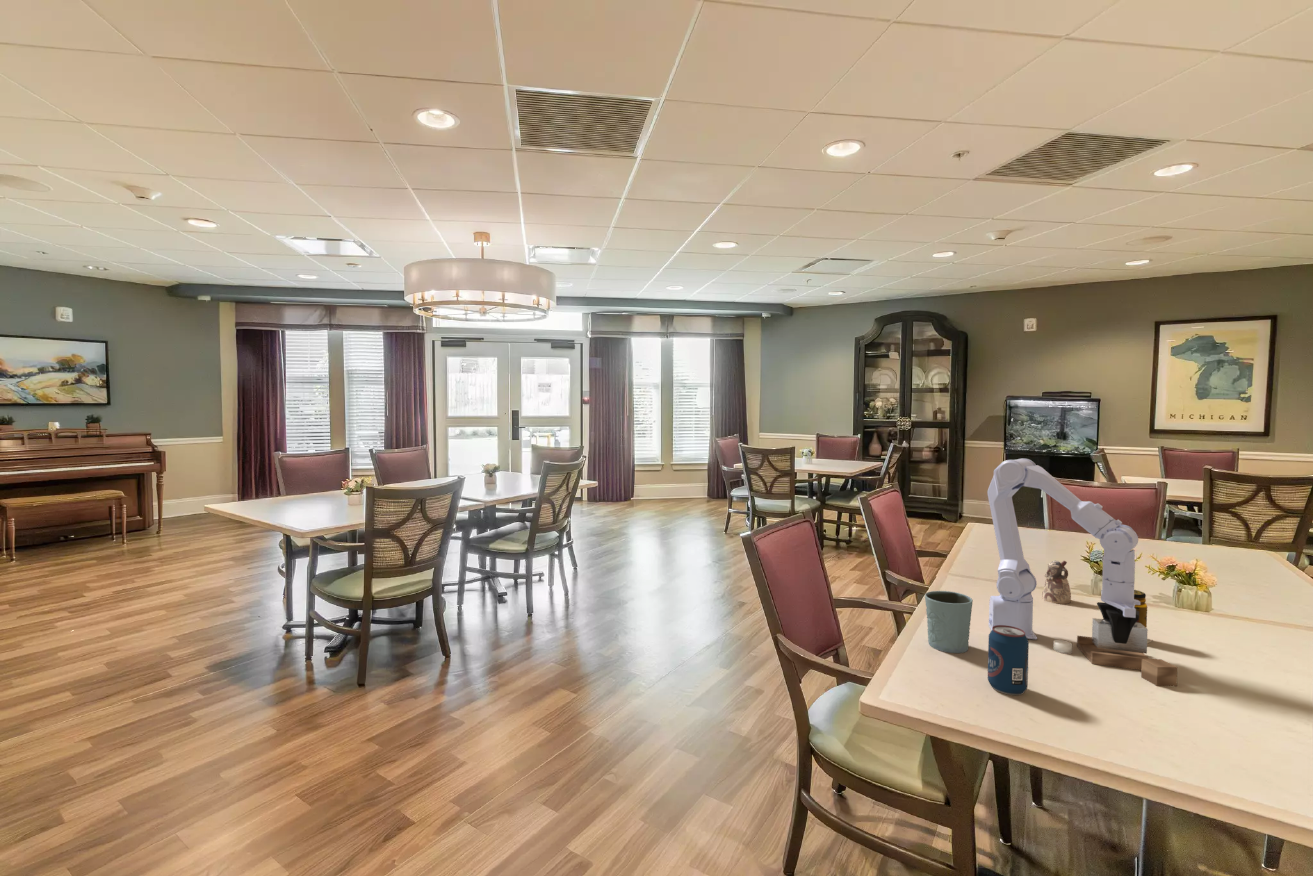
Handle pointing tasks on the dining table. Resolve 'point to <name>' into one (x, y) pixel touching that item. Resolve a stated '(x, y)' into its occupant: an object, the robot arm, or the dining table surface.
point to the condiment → (1141, 609)
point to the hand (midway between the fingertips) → (1116, 639)
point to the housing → (1105, 640)
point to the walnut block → (1159, 672)
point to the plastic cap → (1062, 646)
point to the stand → (1110, 655)
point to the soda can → (1008, 660)
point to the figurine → (1056, 584)
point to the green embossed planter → (948, 620)
